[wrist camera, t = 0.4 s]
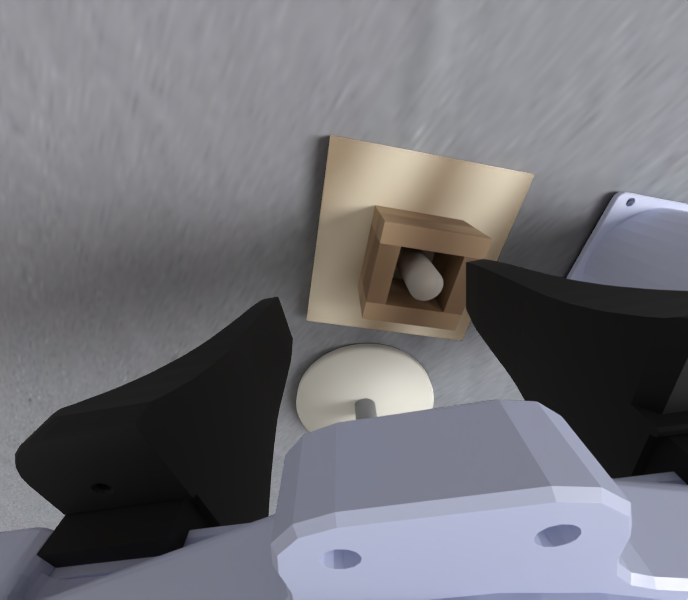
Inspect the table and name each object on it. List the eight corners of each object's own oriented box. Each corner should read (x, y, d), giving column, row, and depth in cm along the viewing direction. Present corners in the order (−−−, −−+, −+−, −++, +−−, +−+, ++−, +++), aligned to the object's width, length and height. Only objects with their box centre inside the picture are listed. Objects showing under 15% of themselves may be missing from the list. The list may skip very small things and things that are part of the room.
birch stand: (525, 172, 18) (594, 185, 13) (457, 333, 24) (488, 382, 19) (330, 135, 17) (328, 133, 12) (307, 313, 23) (299, 361, 18)
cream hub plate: (449, 352, 25) (476, 404, 20) (410, 445, 30) (424, 503, 25) (304, 334, 23) (296, 385, 19) (291, 434, 29) (283, 493, 24)
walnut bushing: (463, 220, 18) (493, 239, 15) (435, 298, 21) (455, 330, 18) (375, 205, 18) (384, 221, 14) (357, 287, 20) (362, 318, 17)
